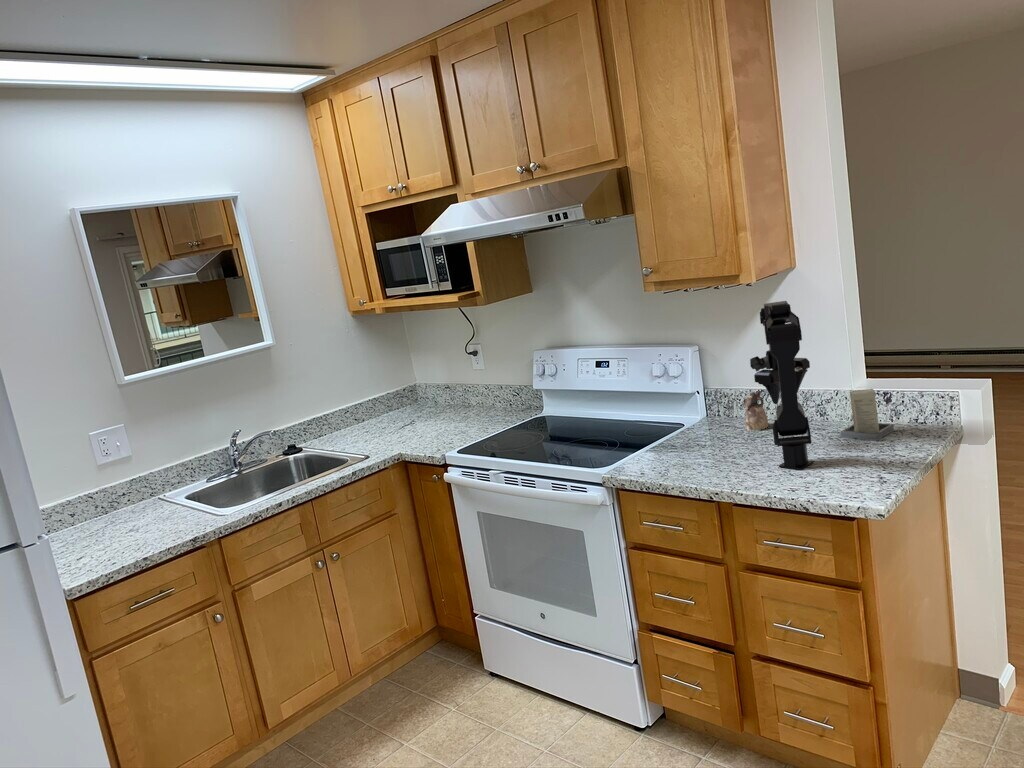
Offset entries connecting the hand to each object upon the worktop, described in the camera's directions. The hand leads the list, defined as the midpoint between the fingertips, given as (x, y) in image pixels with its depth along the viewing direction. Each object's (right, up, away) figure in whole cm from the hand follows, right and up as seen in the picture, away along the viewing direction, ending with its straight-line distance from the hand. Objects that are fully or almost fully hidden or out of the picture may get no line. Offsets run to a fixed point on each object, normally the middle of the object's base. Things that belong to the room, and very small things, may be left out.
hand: (785, 399), depth 218 cm
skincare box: (+23, -10, -1) cm, 25 cm away
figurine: (-1, -10, +24) cm, 26 cm away
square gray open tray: (+23, -10, -1) cm, 25 cm away
